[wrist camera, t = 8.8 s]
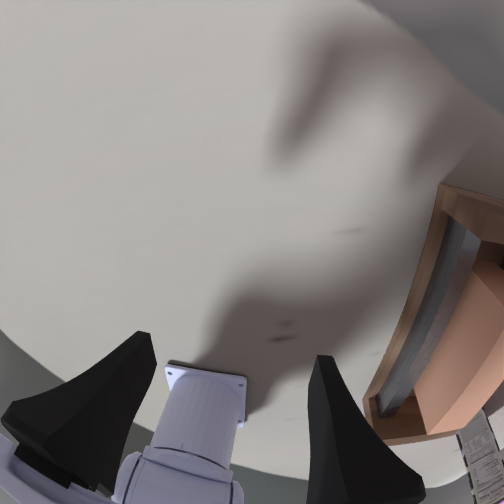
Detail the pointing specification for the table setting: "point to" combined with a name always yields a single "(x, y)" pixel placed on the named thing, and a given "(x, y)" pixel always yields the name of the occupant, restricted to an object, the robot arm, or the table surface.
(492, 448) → the candy bar box
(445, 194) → the track base
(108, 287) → the table surface
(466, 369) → the salmon orange block
